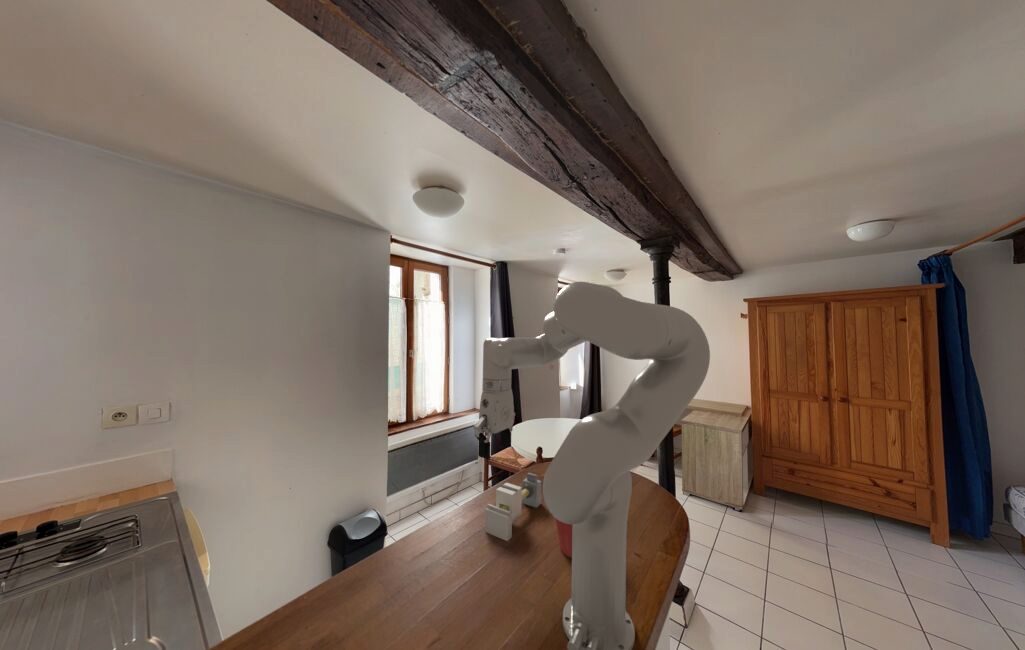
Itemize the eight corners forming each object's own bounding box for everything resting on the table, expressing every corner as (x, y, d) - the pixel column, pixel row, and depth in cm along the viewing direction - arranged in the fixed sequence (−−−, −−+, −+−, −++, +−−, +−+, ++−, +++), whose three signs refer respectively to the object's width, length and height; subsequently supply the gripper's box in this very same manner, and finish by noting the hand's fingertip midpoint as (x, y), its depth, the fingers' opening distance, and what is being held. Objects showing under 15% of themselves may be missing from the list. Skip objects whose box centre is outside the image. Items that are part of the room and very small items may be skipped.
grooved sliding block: (511, 523, 84) (512, 494, 84) (495, 517, 87) (496, 488, 87) (521, 514, 88) (521, 486, 89) (505, 509, 91) (506, 481, 91)
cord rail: (507, 541, 81) (508, 505, 81) (485, 531, 84) (486, 497, 85) (543, 504, 98) (544, 475, 99) (524, 498, 102) (524, 469, 102)
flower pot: (547, 554, 76) (547, 513, 76) (562, 530, 86) (562, 493, 86) (591, 570, 71) (591, 526, 71) (601, 542, 81) (602, 504, 81)
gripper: (488, 391, 73) (486, 466, 73) (525, 382, 88) (524, 444, 87) (463, 388, 77) (462, 459, 77) (503, 380, 92) (502, 439, 91)
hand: (495, 451), depth 82 cm, fingers open, 9 cm apart
